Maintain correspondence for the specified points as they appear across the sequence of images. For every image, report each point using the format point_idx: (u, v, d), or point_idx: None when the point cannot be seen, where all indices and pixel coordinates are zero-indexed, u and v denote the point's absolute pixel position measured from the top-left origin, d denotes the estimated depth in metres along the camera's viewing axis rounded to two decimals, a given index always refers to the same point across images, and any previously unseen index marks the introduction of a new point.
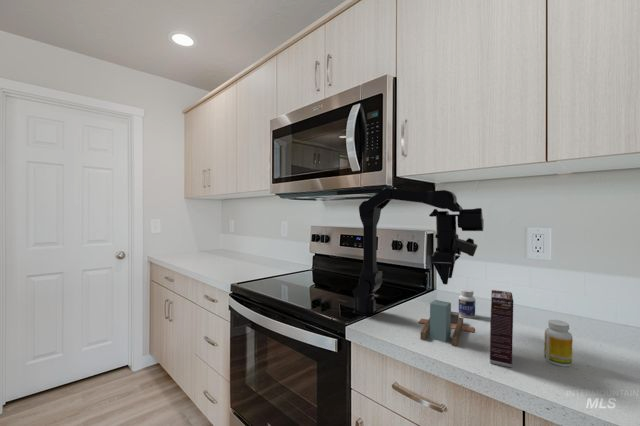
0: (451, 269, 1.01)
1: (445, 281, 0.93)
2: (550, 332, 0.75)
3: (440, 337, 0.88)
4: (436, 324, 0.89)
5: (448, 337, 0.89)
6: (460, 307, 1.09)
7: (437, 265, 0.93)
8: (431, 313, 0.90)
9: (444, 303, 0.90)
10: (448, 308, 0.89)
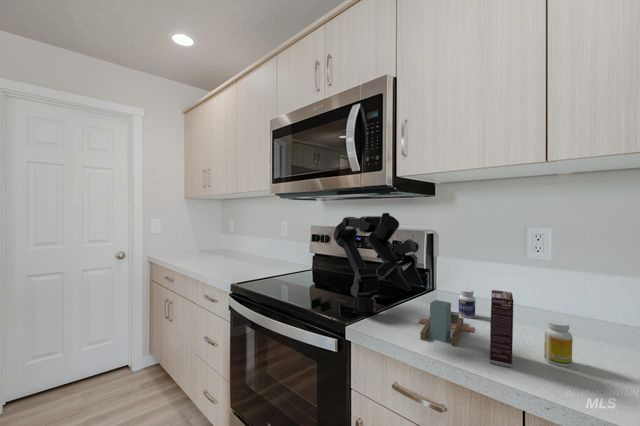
0: (417, 276, 0.99)
1: (406, 287, 0.91)
2: (550, 332, 0.75)
3: (440, 337, 0.88)
4: (436, 324, 0.89)
5: (448, 337, 0.89)
6: (460, 307, 1.09)
7: (389, 278, 0.93)
8: (431, 313, 0.90)
9: (444, 303, 0.90)
10: (448, 308, 0.89)
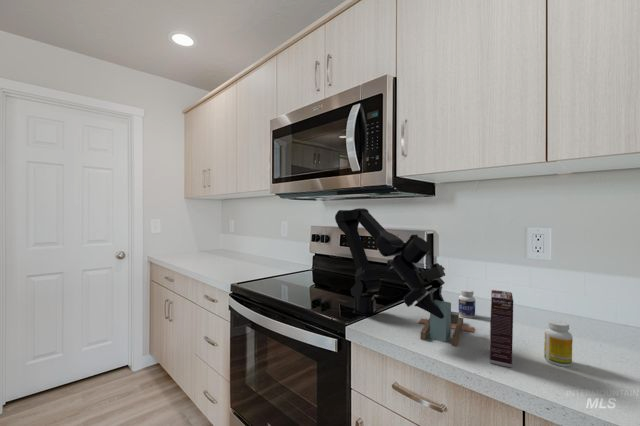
0: None
1: (439, 314, 0.87)
2: (550, 332, 0.75)
3: (440, 337, 0.88)
4: (436, 324, 0.89)
5: (448, 337, 0.89)
6: (460, 307, 1.09)
7: (421, 305, 0.89)
8: None
9: (444, 303, 0.90)
10: (448, 308, 0.89)
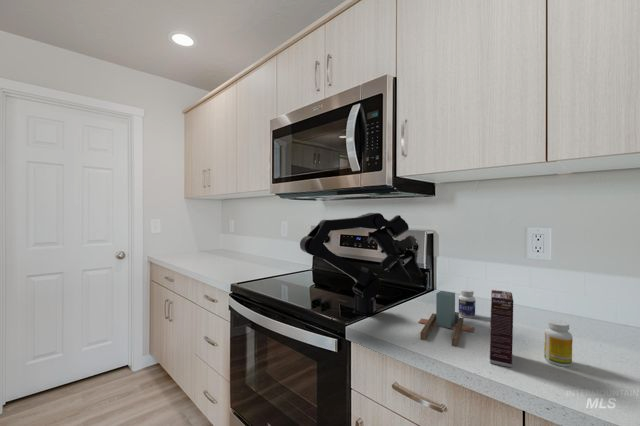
0: (417, 268, 1.10)
1: (408, 278, 1.02)
2: (550, 332, 0.75)
3: (445, 323, 0.98)
4: (442, 312, 0.98)
5: (453, 324, 0.99)
6: (460, 307, 1.09)
7: (392, 270, 1.04)
8: (437, 302, 0.99)
9: (449, 293, 0.99)
10: (453, 298, 0.98)
